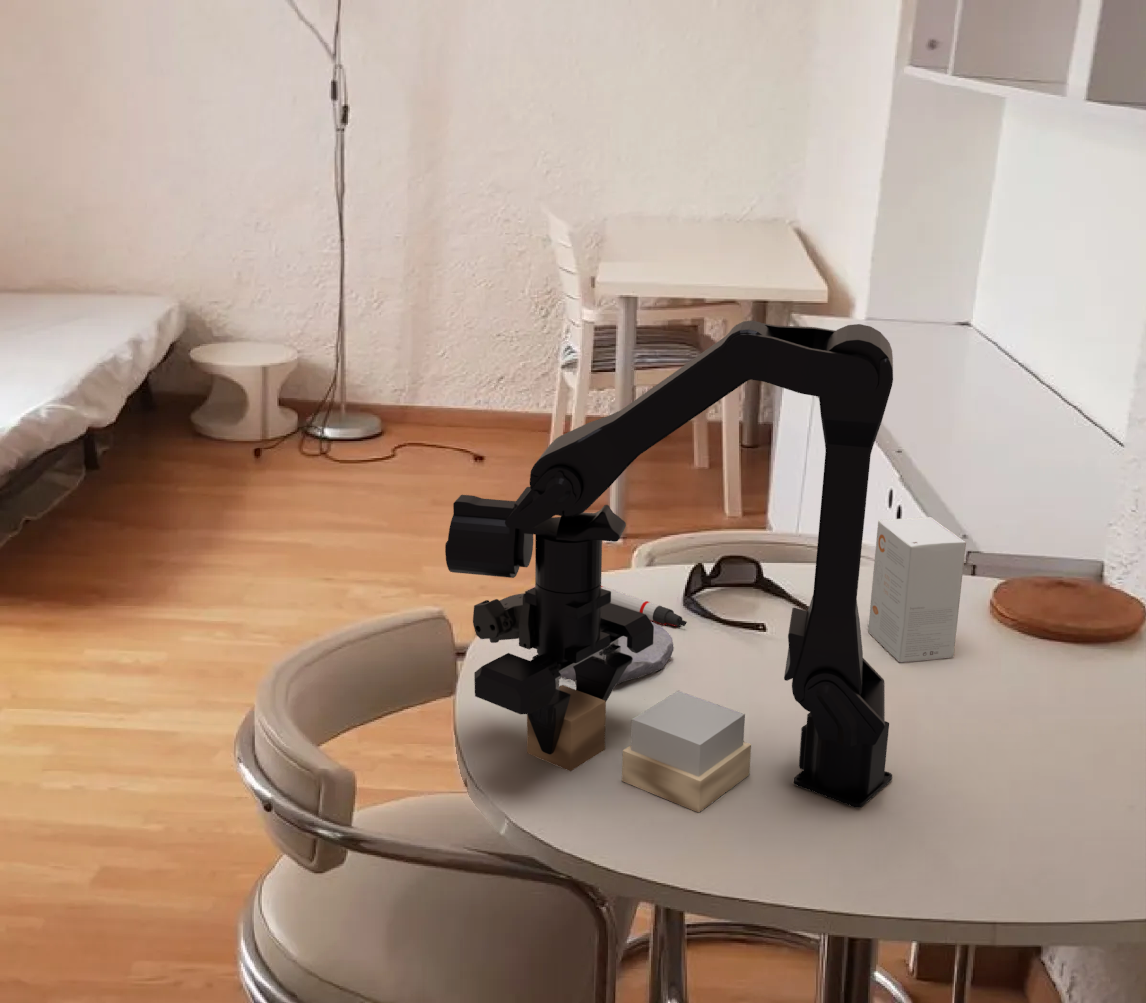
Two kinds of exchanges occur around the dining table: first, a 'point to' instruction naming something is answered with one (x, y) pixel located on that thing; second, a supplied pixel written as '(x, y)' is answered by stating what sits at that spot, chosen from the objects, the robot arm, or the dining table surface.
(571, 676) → the stone block
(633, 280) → the dining table surface
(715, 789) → the beech base block
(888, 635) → the small box
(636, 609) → the marker
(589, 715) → the walnut cube
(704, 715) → the grey block
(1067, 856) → the dining table surface
